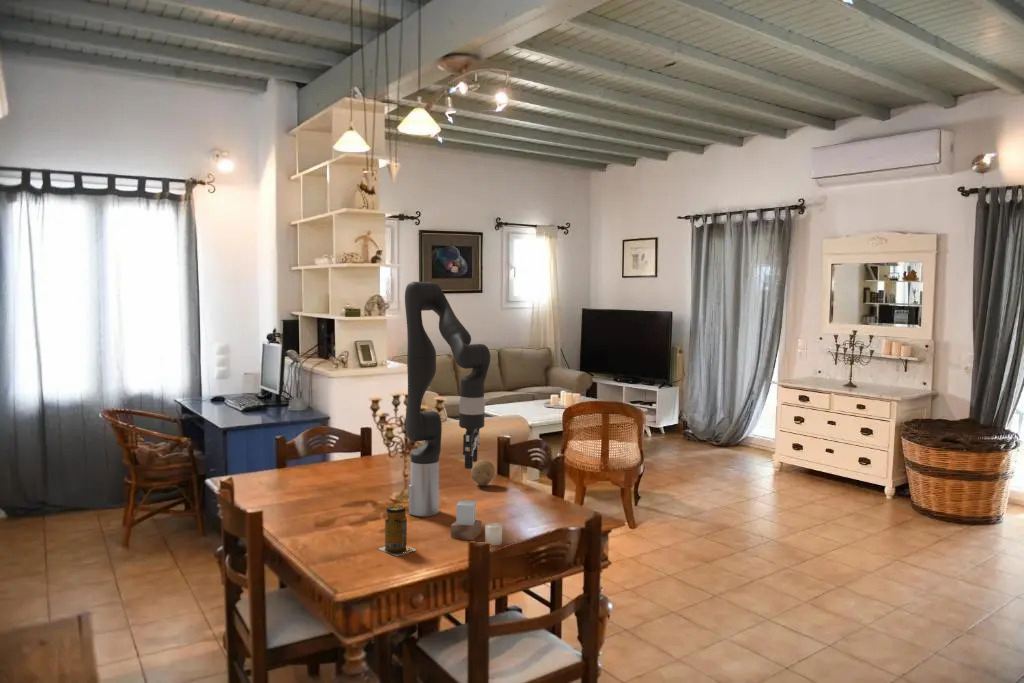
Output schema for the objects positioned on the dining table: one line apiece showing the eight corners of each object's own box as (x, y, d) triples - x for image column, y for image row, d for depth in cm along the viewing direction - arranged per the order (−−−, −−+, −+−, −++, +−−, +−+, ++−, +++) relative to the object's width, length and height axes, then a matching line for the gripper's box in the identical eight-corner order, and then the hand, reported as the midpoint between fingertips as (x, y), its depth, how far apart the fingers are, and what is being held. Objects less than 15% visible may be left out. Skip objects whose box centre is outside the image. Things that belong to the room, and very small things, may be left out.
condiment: (398, 543, 214) (398, 502, 213) (416, 550, 208) (417, 508, 207) (377, 549, 208) (377, 507, 207) (396, 557, 203) (396, 514, 202)
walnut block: (450, 538, 219) (450, 525, 219) (459, 530, 226) (459, 518, 225) (472, 541, 217) (473, 527, 216) (481, 533, 223) (481, 520, 223)
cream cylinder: (483, 545, 213) (483, 528, 213) (486, 539, 218) (486, 522, 218) (500, 545, 212) (501, 529, 212) (503, 540, 217) (503, 523, 217)
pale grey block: (473, 525, 218) (473, 505, 218) (456, 524, 219) (456, 504, 218) (475, 520, 223) (475, 500, 223) (459, 519, 224) (459, 500, 223)
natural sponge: (491, 490, 269) (491, 463, 268) (467, 488, 270) (468, 462, 270) (496, 483, 278) (496, 457, 277) (473, 482, 279) (473, 456, 278)
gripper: (480, 416, 212) (479, 471, 213) (488, 407, 226) (487, 459, 227) (454, 415, 213) (454, 470, 214) (463, 406, 227) (463, 458, 228)
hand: (471, 464), depth 221 cm, fingers open, 8 cm apart
